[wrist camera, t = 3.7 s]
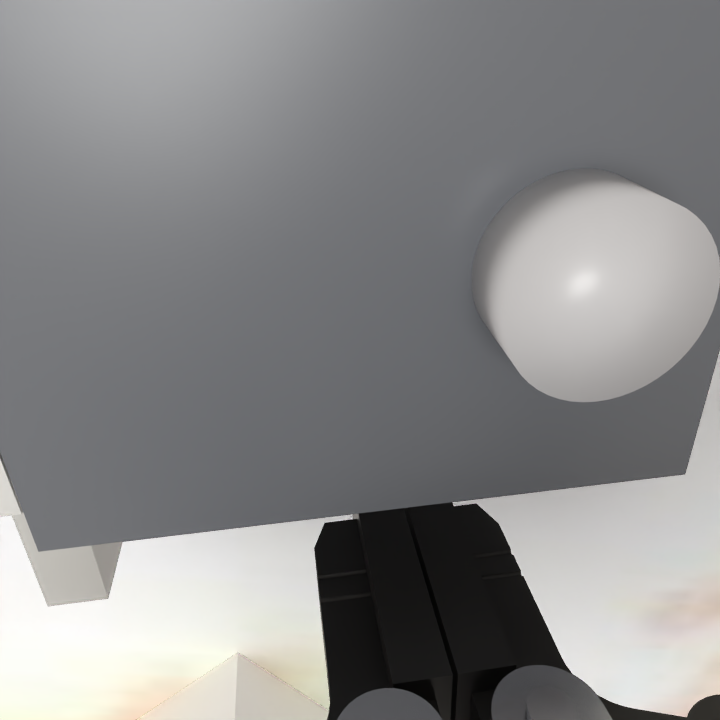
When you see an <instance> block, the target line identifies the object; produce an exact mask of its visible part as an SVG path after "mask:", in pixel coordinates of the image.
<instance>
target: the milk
mask: <svg viewBox="0 0 720 720" xmlns="http://www.w3.org/2000/svg"><path fill="white" fill-rule="evenodd" d="M328 714H329V710H327V709H326V708H324V707H323V706H321V705H320V704H318V703H316V702H315V701H313V700H312V699H310V698H309V697H307V696H306V695H304V694H302V693H301V692H299V691H298V690H296V689H295V688H293V687H291V686H290V685H288V684H287V683H285V682H284V681H282V680H280V679H279V678H277V677H276V676H274V675H273V674H271V673H269V672H268V671H266V670H265V669H263V668H262V667H260V666H259V665H257V664H255V663H254V662H252V661H251V660H249V659H248V658H246V657H244V656H243V655H241V654H240V653H236V654H235V655H233V656H232V657H230V658H229V659H227V660H225V661H224V662H222V663H221V664H219V665H218V666H216V667H215V668H213V669H212V670H210V671H209V672H207V673H206V674H204V675H203V676H201V677H200V678H198V679H197V680H195V681H194V682H192V683H191V684H189V685H188V686H186V687H185V688H183V689H182V690H180V691H179V692H177V693H176V694H174V695H173V696H171V697H170V698H168V699H167V700H165V701H163V702H162V703H160V704H159V705H157V706H156V707H154V708H153V709H151V710H150V711H148V712H147V713H145V714H144V715H142V716H141V717H139V718H138V719H136V720H327V717H328Z"/></svg>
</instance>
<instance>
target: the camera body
mask: <svg viewBox="0 0 720 720" xmlns="http://www.w3.org/2000/svg"><path fill="white" fill-rule="evenodd" d="M719 350H720V0H0V453H1V455H2V458H3V461H4V463H5V466H6V468H7V471H8V474H9V476H10V479H11V481H12V484H13V487H14V489H15V492H16V495H17V497H18V500H19V502H20V505H21V508H22V510H23V513H24V515H25V518H26V521H27V523H28V526H29V529H30V531H31V534H32V536H33V539H34V542H35V544H36V547H37V549H38V552H41V551H49V550H58V549H66V548H74V547H83V546H91V545H99V544H108V543H116V542H124V541H133V540H141V539H150V538H158V537H166V536H175V535H183V534H191V533H200V532H208V531H216V530H225V529H233V528H241V527H250V526H258V525H266V524H275V523H283V522H291V521H300V520H308V519H316V518H325V517H333V516H341V515H350V514H358V513H366V512H375V511H383V510H391V509H400V508H408V507H416V506H425V505H433V504H441V503H450V502H458V501H466V500H475V499H483V498H491V497H500V496H508V495H516V494H525V493H533V492H541V491H550V490H558V489H566V488H575V487H583V486H592V485H600V484H608V483H617V482H625V481H633V480H642V479H650V478H658V477H667V476H675V475H683V474H685V473H686V469H687V465H688V462H689V458H690V455H691V451H692V448H693V444H694V440H695V437H696V433H697V430H698V426H699V422H700V419H701V415H702V412H703V408H704V404H705V401H706V397H707V394H708V390H709V386H710V383H711V379H712V376H713V372H714V368H715V365H716V361H717V358H718V354H719Z"/></svg>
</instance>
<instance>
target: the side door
mask: <svg viewBox="0 0 720 720" xmlns="http://www.w3.org/2000/svg"><path fill="white" fill-rule="evenodd" d="M10 515H12V517H13V519H14V522H15V524H16V527H17V530H18V532H19V535H20V537H21V540H22V542H23V545H24V547H25V550H26V552H27V555H28V557H29V560H30V562H31V565H32V568H33V570H34V573H35V575H36V578H37V580H38V583H39V585H40V588H41V590H42V593H43V595H44V598H45V600H46V603H47V605H48V606H54V605H62V604H70V603H78V602H85V601H93V600H101V599H108V598H109V594H110V590H111V586H112V582H113V578H114V574H115V570H116V566H117V562H118V558H119V554H120V550H121V546H122V542H116V543H108V544H99V545H91V546H83V547H74V548H66V549H58V550H49V551H41V552H38V549H37V547H36V544H35V542H34V539H33V536H32V534H31V531H30V529H29V526H28V523H27V521H26V518H25V515H24V513H23V510H22V508H21V505H20V502H19V500H18V497H17V495H16V492H15V489H14V487H13V484H12V481H11V479H10V476H9V474H8V471H7V468H6V466H5V463H4V461H3V458H2V455H1V453H0V517H2V516H10Z"/></svg>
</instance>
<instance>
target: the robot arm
mask: <svg viewBox="0 0 720 720" xmlns="http://www.w3.org/2000/svg"><path fill="white" fill-rule="evenodd" d="M314 549H315V560H316V570H317V581H318V591H319V601H320V612H321V621H322V631H323V640H324V650H325V659H326V668H327V678H328V687H329V697H330V708H329V714H328V717H327V720H720V695H713V696H709V697H706V698H704V699H702V700H700V701H699V702H697V703H696V704H695V705H694V706H693V707H692V709H691V710H690V711H689V713H688V716H687V718H686V717H680V716H674V715H668V714H662V713H656V712H650V711H644V710H638V709H633V708H628V707H624V706H621V705H618V704H615V703H612V702H610V701H608V700H606V699H604V698H602V697H600V696H598V695H597V694H596V693H595V692H594V691H593V690H592V689H591V688H590V687H589V686H588V685H587V684H586V683H585V682H583V681H582V680H581V679H579V678H578V677H576V676H575V675H573V674H572V673H571V671H570V670H569V669H568V667H567V666H566V665H565V663H564V661H563V659H562V657H561V655H560V653H559V651H558V649H557V647H556V645H555V643H554V640H553V638H552V636H551V634H550V632H549V630H548V628H547V626H546V623H545V621H544V619H543V617H542V615H541V613H540V611H539V609H538V606H537V604H536V602H535V600H534V598H533V596H532V594H531V592H530V589H529V587H528V585H527V583H526V581H525V579H524V577H523V576H521V570H520V568H519V566H518V564H517V562H516V560H515V558H514V555H512V554H511V549H510V547H509V545H508V543H507V541H506V538H505V536H504V534H503V532H502V530H501V528H500V526H499V524H498V523H497V522H496V521H495V520H494V519H493V518H492V517H490V516H489V515H488V514H487V513H486V512H485V511H484V510H483V509H482V508H480V507H479V506H478V505H477V504H469V505H462V506H453V503H452V502H450V503H441V504H433V505H425V506H416V507H408V508H400V509H391V510H383V511H375V512H366V513H358V514H353V519H352V520H344V521H336V522H329V523H325V524H324V526H323V528H322V531H321V533H320V536H319V538H318V541H317V543H316V545H315V548H314Z"/></svg>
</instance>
